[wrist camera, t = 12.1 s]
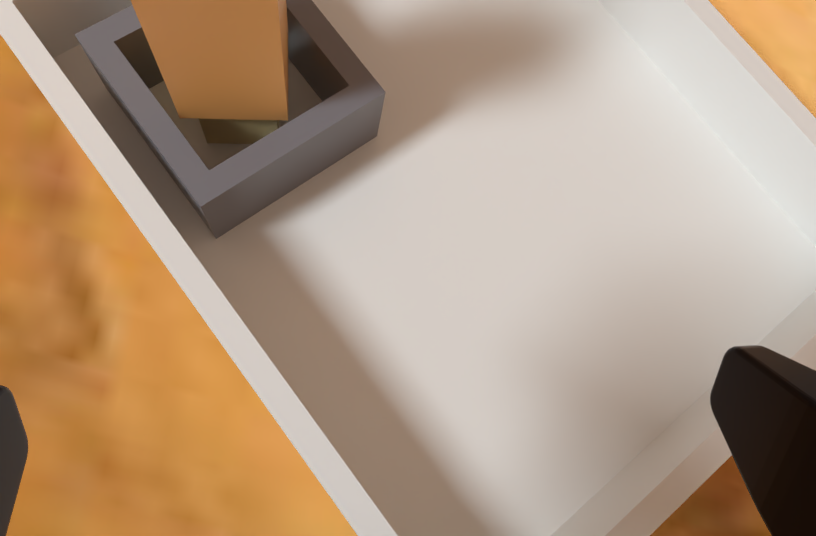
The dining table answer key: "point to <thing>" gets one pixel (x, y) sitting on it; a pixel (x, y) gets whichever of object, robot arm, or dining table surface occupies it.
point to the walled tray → (473, 242)
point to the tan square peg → (222, 62)
